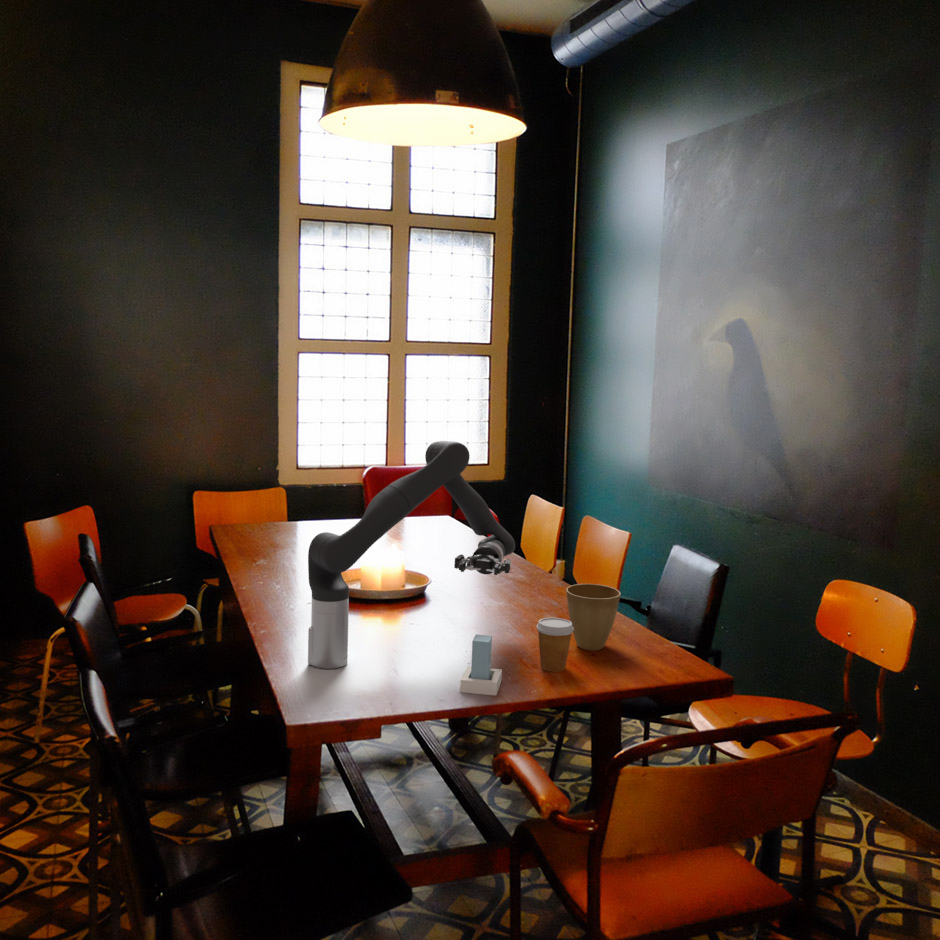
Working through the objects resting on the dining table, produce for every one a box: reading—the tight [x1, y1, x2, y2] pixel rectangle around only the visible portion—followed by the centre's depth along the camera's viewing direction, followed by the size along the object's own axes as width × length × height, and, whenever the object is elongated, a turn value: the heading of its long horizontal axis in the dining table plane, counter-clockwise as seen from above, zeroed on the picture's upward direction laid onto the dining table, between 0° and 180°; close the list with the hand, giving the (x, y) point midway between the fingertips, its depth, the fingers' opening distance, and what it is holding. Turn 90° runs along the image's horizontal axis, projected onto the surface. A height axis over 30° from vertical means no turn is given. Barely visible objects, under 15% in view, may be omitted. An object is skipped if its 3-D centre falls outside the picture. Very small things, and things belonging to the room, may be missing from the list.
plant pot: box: [565, 583, 621, 651], centre depth 242 cm, size 15×15×16 cm
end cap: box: [459, 665, 503, 696], centre depth 209 cm, size 9×10×3 cm
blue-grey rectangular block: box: [470, 634, 493, 680], centre depth 209 cm, size 4×5×12 cm
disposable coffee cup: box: [536, 617, 574, 673], centre depth 224 cm, size 10×10×12 cm
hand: (478, 569), depth 218 cm, fingers open, 8 cm apart
